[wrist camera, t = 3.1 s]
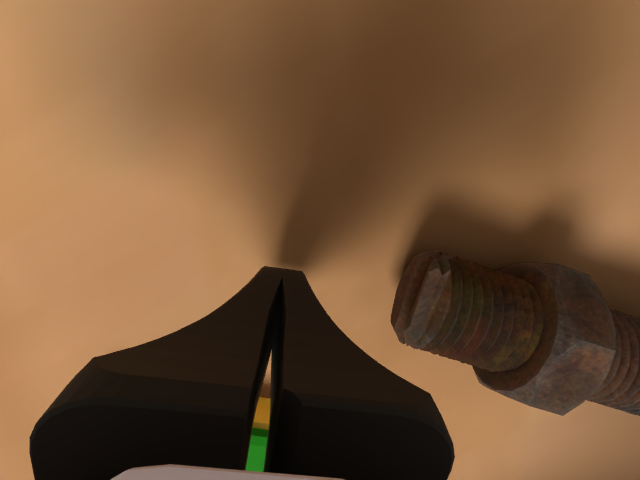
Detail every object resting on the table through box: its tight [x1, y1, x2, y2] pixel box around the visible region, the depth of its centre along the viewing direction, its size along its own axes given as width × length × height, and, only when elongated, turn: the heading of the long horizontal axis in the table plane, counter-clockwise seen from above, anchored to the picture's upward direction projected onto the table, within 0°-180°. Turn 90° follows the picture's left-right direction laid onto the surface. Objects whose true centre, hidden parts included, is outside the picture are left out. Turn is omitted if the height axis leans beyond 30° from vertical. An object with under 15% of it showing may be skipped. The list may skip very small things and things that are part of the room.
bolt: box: [391, 250, 640, 416], centre depth 12 cm, size 6×5×15 cm
